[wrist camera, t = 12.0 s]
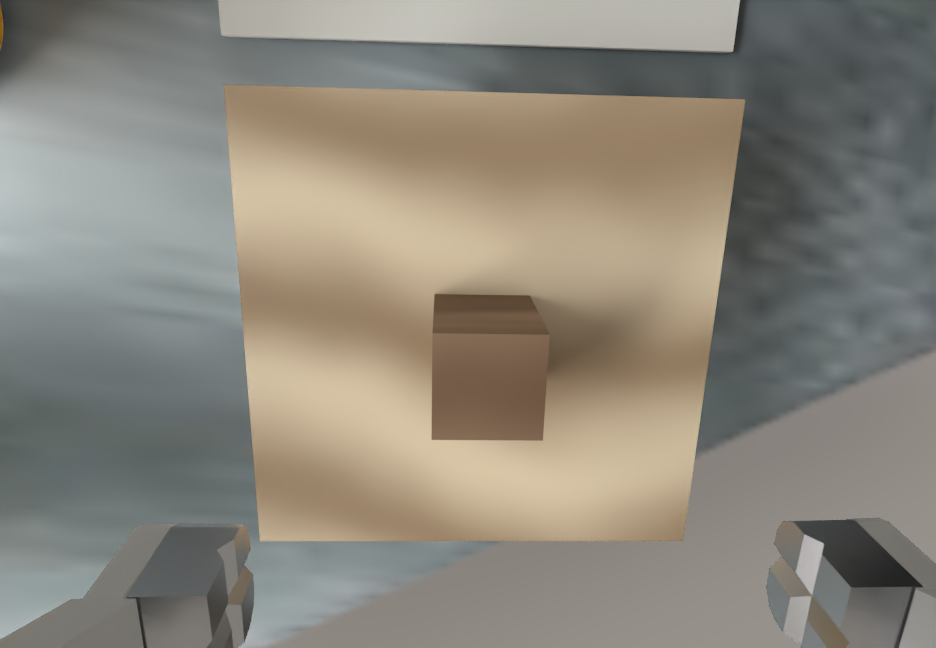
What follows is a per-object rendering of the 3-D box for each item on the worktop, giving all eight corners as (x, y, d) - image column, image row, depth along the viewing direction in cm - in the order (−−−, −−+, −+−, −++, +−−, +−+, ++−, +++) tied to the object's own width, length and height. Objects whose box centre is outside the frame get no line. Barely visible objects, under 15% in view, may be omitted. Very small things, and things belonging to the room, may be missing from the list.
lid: (232, 86, 19) (165, 74, 15) (733, 100, 20) (821, 93, 15) (266, 527, 24) (223, 625, 19) (675, 527, 24) (729, 622, 20)
